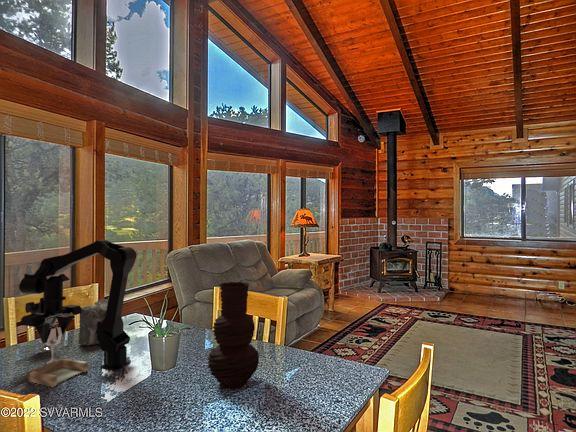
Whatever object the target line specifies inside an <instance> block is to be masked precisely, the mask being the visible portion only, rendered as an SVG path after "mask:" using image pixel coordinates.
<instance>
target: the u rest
mask: <svg viewBox="0 0 576 432" xmlns="http://www.w3.org/2000/svg"><path fill="white" fill-rule="evenodd" d="M56 360H57V361H54V362H52V363H49V364H47V365H45V364H44V365H41V366H39V367H36V368H34V369H32V370H30V371H27V372H26V373H27V374H26V382H27V381H28V382H27V383H29V382H33V383H32V384H34V383H37V384H36V385H39V384H42V385H41V386H44V385H47V386H46V387H49V386H51V387H50V388H55V387H57V386H58V385H59V384H58V383H60V382H62V381H64V382H66V381H67V380H66V379H69V378H71V377H73V376H75V375H77V376H79V375H81V374H80V373H82V372H85V373H87V372H88V368H89V366H88V364H89V363H88V361H83V360H78V359H71V358H68V357H67V358H66V357H63V358H60V359H56ZM86 371H87V372H86ZM78 374H79V375H78ZM82 374H83V373H82ZM75 377H76V376H75ZM73 378H74V377H73ZM71 379H72V378H71ZM65 380H66V381H65ZM69 380H70V379H69ZM62 383H63V382H62ZM57 384H58V385H57ZM60 384H61V383H60ZM56 385H57V386H56ZM54 386H55V387H54Z"/></svg>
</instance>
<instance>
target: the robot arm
mask: <svg viewBox="0 0 576 432" xmlns="http://www.w3.org/2000/svg"><path fill="white" fill-rule="evenodd" d="M99 254H100V255H101V256H102V257H103V258H104V259H106V260H109V263H110V264H109V266H110V269H111V272H112V277H111V283H110V289H109V294H108V298H107V300H108V305H107V310H106V316H105V318H104V319H102V320H100V321H98V322H97V330H96V332H95V334H97V335H96V338H97V340H98V341H99V343H98V344H99V346H100V348H101V349H100V350H101V352H103V364H102V365H100V368H101V369H106V370H112V371H113V370H114V371H118V370H119V369H122V368H123V367H125V366H127V365H129V364H130V363H131V362H130V361H128V360H127V354H128V353H127V348H128V347H127V346H126V345H128V344H129V343H130V340H131V337H130V336H129V334H128V333H127V332H126V331H125V330H124V321H123V317H122V313H123V312H122V311H123V305H124V301H125V294H126V290H127V289H126V288H127V285H128V284H127V283H128V278H129V275H130V273H131V271H132V270H133V268H134V265H135V263H136V260H137V256H138V254H137V252H136V251H135V249H134V248H133V247H130V246H126V247H125V246H123V245H120V244H117V243H113V242H111V241H109V240H107V239H99V240H95V241H94V242H93V243H90V244H87V245H85V246H82V247H80V248H77V249H75V250H73V251H70V252H68V253H65V254H61V255H57V256H52V257H47V258H43V259H42V260H41V261H40V265H39V266H38V268H37V269H36V271H35V272H34V273H31V272H27V273H24V275H23V278H22V279H21V281H20V283H19V285H18V289H19V291H20V293H22V294H29V295H30V294H32V295H33V294H36V295H37V294H38V295H41V294H43V295H42V297H40V299H39V302H37V303H35V302H34V301H29V302H27V303H25V308H24V309H25V312H26V313H27V315H24V316H22V317H21V319H20V326H26V327H32V328H35V329H36V331H37V333H38V335H39V337H40V340H41V343H42V344H44V343H46V341H47V337H48V332H49V326H50V323H47V319H50V318H54V317H56V318H57V322H58V323H57V325H60V326H61V329H62V338H63V336H64V335H65V333H66V331H67V329H68V327H69V325H70V324H71V322H72V320H74V319H75V317H76V316H77V315H80V314H81V309H82V307H81V306H80V305H78V304H67V305H63V304H64V301H65V300H66V297H67V296H64V282H67V281H70V278H69V276H66V274H65V273H64V272H65V271H67V270H69V269H70V268H71V267H72V266H74V265H75V264H76V263H79V262H81V261H84V260H87V259H88V258H91V257H93V256H96V255H99ZM61 273H62V274H61ZM36 313H39V314H36ZM42 313H43V315H40V314H42ZM49 315H51V316H49Z"/></svg>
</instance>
